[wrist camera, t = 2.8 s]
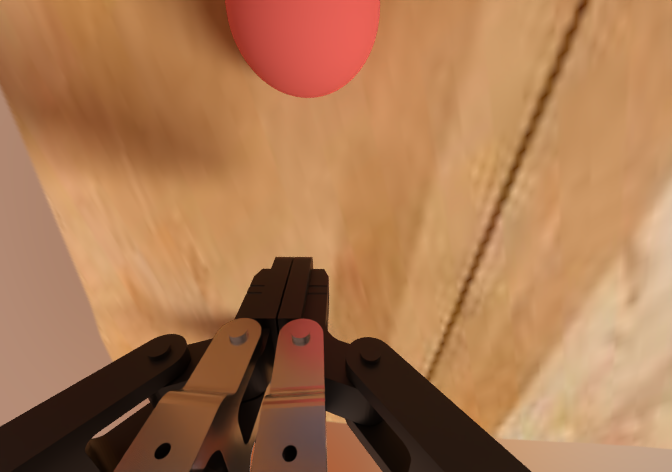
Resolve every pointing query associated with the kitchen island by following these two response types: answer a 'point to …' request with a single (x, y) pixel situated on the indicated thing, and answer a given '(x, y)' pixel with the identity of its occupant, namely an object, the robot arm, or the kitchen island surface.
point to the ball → (304, 41)
